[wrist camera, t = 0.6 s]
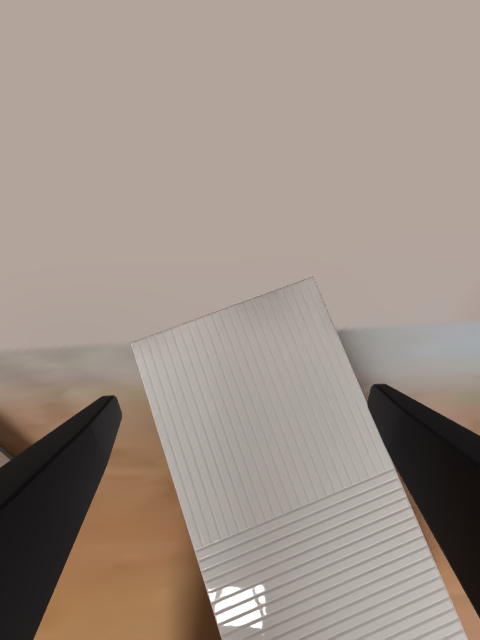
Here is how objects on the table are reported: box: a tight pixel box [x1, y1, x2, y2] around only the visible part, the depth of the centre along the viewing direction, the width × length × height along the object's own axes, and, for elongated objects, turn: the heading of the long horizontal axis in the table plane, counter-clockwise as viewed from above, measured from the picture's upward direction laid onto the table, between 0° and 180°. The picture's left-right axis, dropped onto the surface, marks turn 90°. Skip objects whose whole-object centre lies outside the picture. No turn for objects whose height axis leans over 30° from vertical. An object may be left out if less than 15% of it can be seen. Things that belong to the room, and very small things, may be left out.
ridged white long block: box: [131, 277, 468, 640], centre depth 16 cm, size 32×11×11 cm, turn 20°
